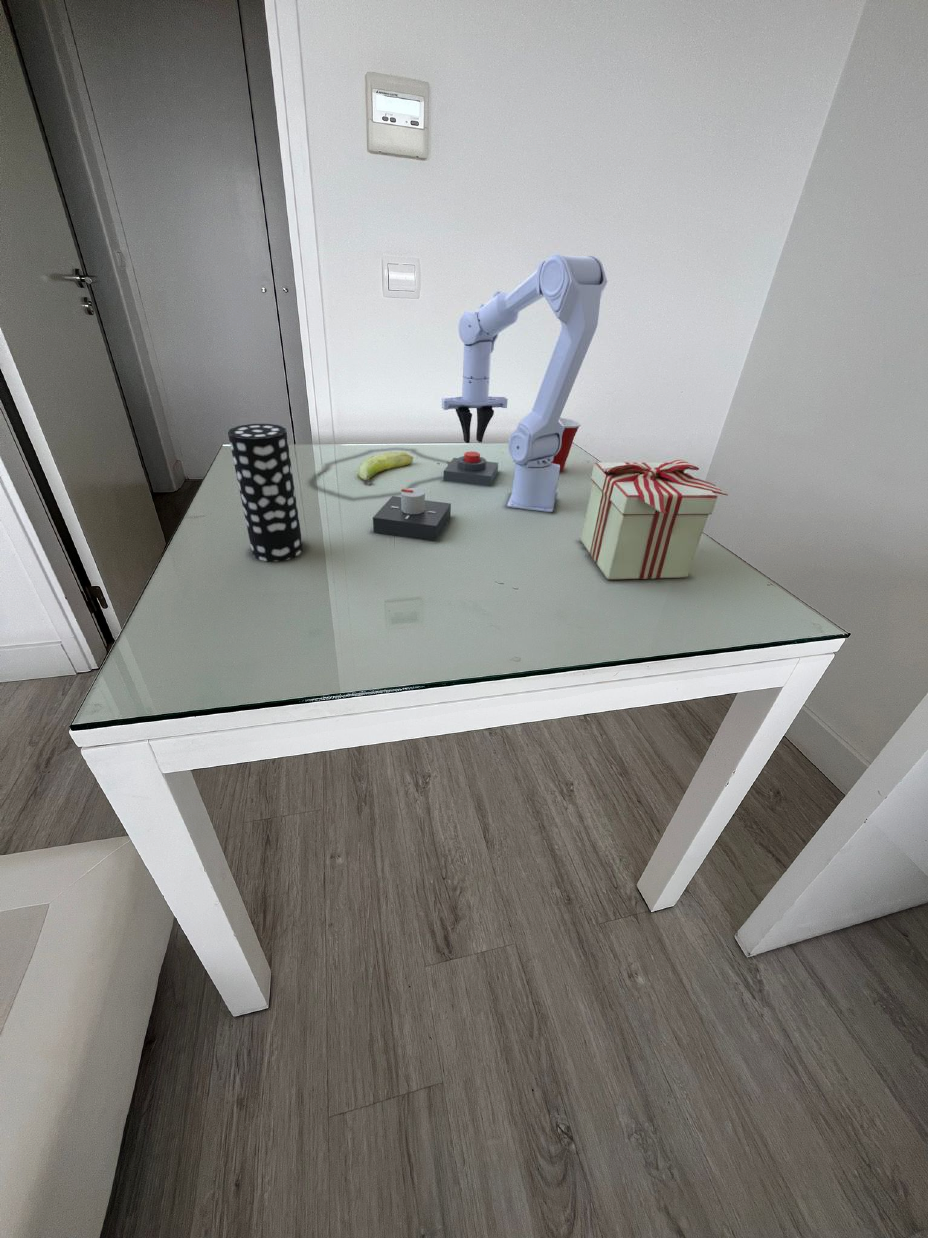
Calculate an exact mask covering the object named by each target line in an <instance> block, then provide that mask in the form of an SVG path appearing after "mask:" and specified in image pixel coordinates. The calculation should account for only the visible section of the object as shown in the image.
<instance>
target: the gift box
mask: <svg viewBox="0 0 928 1238" xmlns="http://www.w3.org/2000/svg"><path fill="white" fill-rule="evenodd" d="M686 470H691V471H699V470H700V468H699V467H698V466H696V465H695V464H692V463H690V462H688V461H686V460H684V459H676V460H673V461H669V462H665V461H664V462H643V461H642V462H639V461H638V462H637V461H636V462H630V461H628V462H625V461H623V462H609V461H607V462H606V461H605V462H601V461H600V462H598V461H597V462H594V463H593V468H592V473H591V478H590V480H591V481H592V484H591V490H590V494H589V499H588V504H587V509H586V512H585V513H586V514H585V518H584V524H583V530H582V533H581V538H580V541H581V543H582V544H583V546H584V547H585V549H586V550H587V552H588V553H589V554H590V556H591V558H592V559H593V561H594V563H595V564H596V565H597V567H598V568H599V569H600V571H601V572H602V573H603V575H604V576H605V578H606V579H607V580H614V581H617V580H655V579H656V580H657V579H683V578H684V579H685V578H688V576H689V573H690V570H691V568H692V566H693V565H692V564H693V561H694V558H695V556H696V553H697V551H698V547H699V544H700V542H701V538H702V535H703V532H704V529H705V526H706V523H707V522H708V521H707V520H708V518H709V516H710V515H713V512H714V509H715V506H716V504H717V500H718V495H717V494H719V495H722V496H723V495H724V496H729V494H728V493H726V492H724V491H723V490H721V488H719V487H718V486H717V485H716V484H715V483H711V482H710V481H706V480H703V479H700V478H696V477H694V476H693V475H691V474H689V473H688V472H687V471H686Z"/></svg>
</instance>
